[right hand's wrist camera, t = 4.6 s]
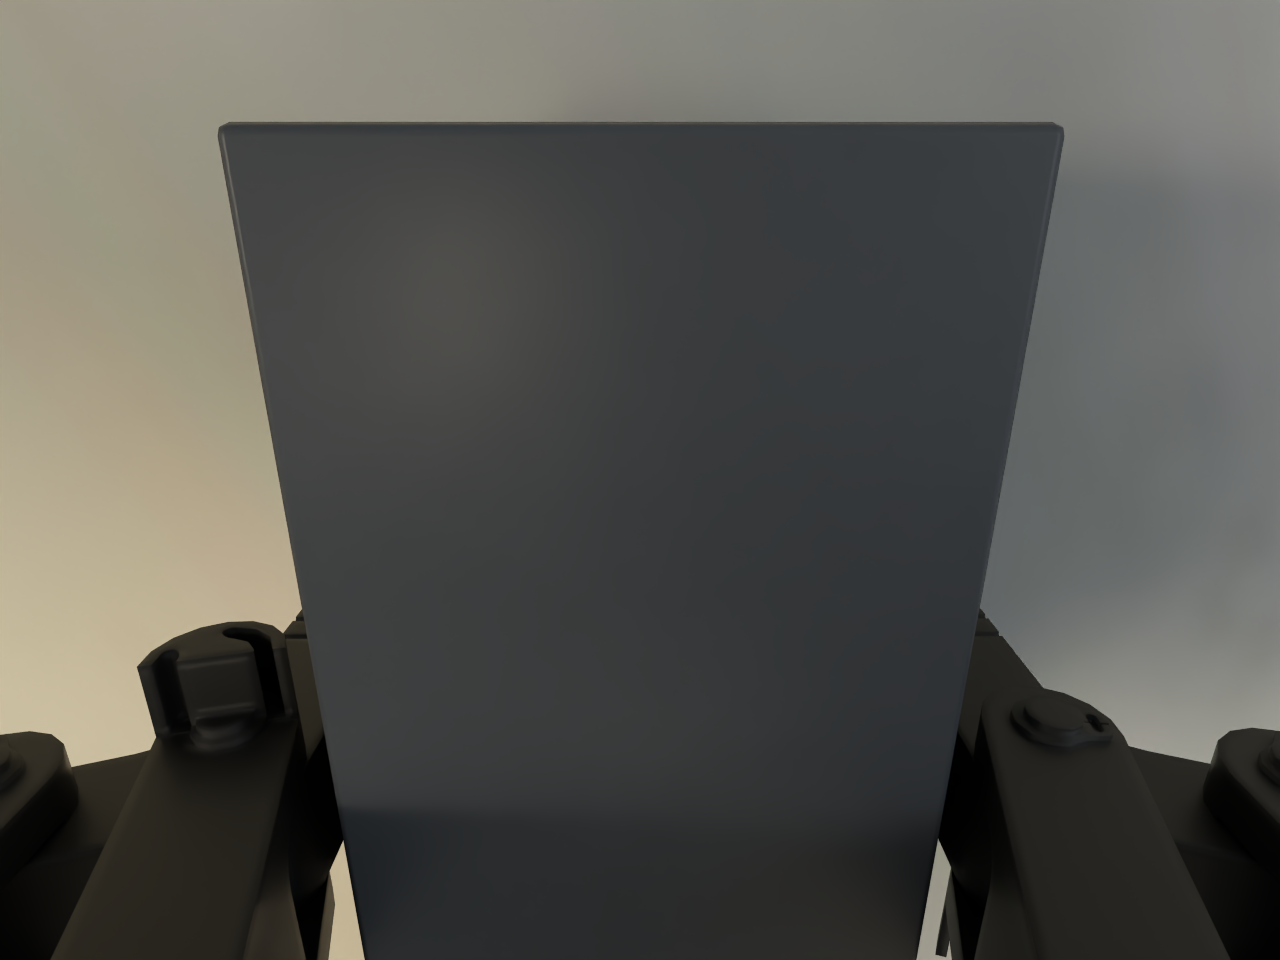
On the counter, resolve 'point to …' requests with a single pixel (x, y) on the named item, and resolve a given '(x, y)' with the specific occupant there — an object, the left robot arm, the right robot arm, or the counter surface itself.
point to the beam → (640, 511)
